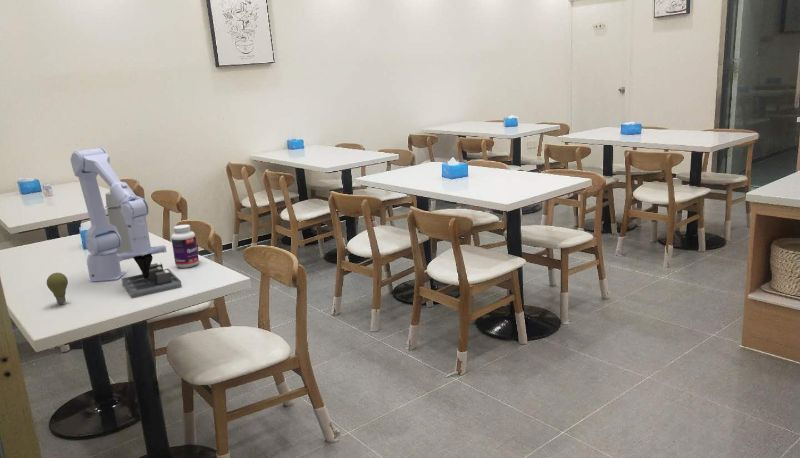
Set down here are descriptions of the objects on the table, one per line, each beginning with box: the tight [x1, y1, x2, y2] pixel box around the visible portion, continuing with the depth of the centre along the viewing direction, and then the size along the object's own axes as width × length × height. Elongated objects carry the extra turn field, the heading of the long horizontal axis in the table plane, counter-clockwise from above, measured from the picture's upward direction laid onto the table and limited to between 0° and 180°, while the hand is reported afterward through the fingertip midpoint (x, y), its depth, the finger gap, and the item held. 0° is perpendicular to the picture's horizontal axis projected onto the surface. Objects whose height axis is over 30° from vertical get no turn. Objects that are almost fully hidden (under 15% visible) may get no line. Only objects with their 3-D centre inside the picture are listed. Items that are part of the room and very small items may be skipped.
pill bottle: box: [171, 224, 200, 269], centre depth 216 cm, size 8×8×14 cm
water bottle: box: [104, 191, 132, 254], centre depth 231 cm, size 9×8×25 cm
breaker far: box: [150, 261, 164, 269], centre depth 203 cm, size 4×3×4 cm
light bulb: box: [46, 272, 69, 306], centre depth 185 cm, size 6×6×10 cm
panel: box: [120, 268, 182, 299], centre depth 198 cm, size 15×17×2 cm
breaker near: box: [155, 269, 172, 285], centre depth 194 cm, size 4×3×4 cm
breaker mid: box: [149, 267, 164, 282], centre depth 198 cm, size 4×3×4 cm
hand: (146, 277), depth 197 cm, fingers closed
